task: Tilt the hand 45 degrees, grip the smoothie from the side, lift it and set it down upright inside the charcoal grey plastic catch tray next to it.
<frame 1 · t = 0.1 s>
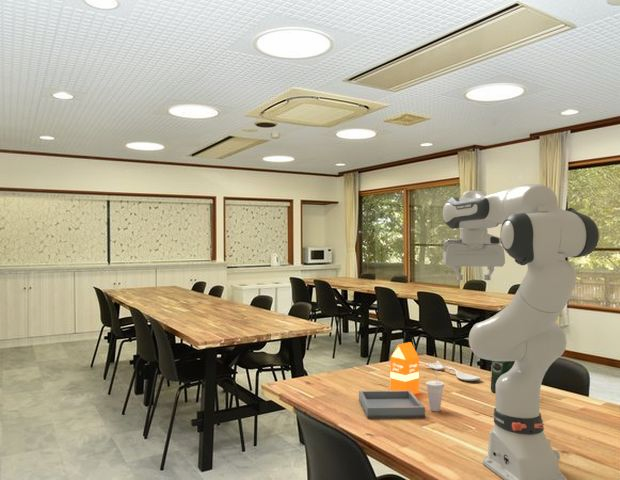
hand: (473, 280, 164), 48 cm above the table, tool pointing down, fingers open, 8 cm apart
orange juice: (404, 393, 198), on the table
catch tray: (390, 408, 178), on the table
smoothie: (434, 410, 177), on the table
coffee jar: (503, 393, 198), on the table
spoon: (452, 375, 226), on the table
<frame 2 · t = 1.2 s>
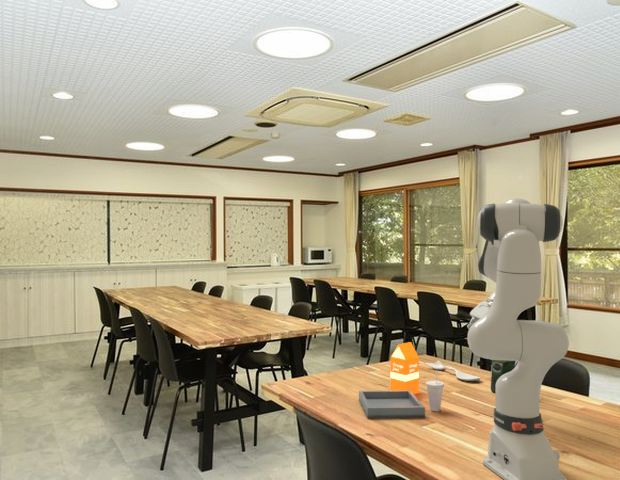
hand: (474, 331, 176), 29 cm above the table, tool tilted 45°, fingers open, 8 cm apart
nothing on the table moved.
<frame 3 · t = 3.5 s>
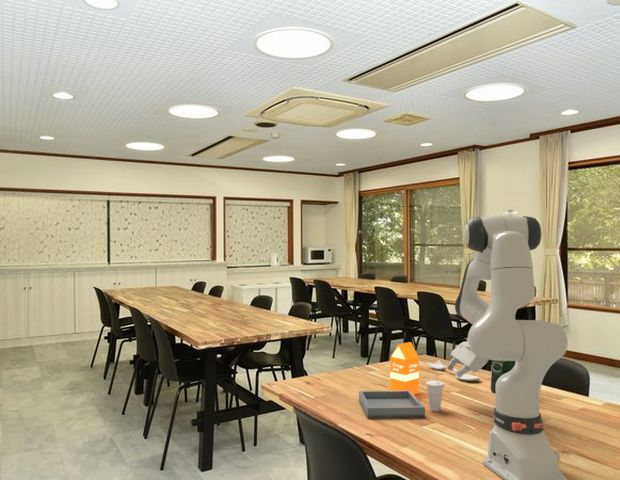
hand: (452, 372, 178), 13 cm above the table, tool tilted 45°, fingers open, 8 cm apart
nothing on the table moved.
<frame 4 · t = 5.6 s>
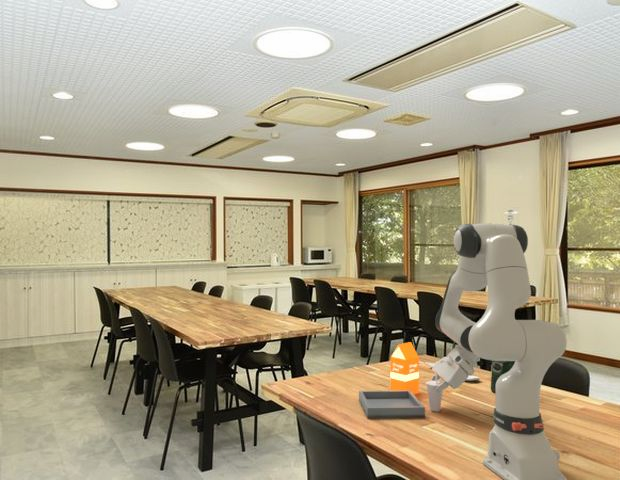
hand: (433, 388, 177), 8 cm above the table, tool tilted 45°, fingers closed on smoothie, 6 cm apart
smoothie: (434, 410, 177), on the table, touching gripper
everything else where it was.
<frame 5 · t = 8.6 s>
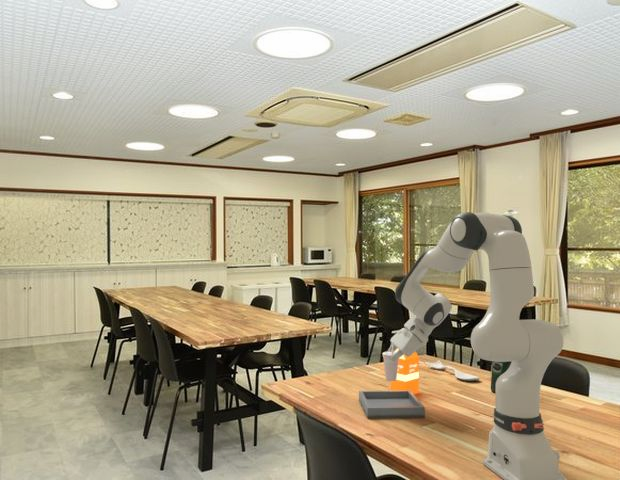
hand: (389, 357, 179), 18 cm above the table, tool tilted 45°, fingers closed on smoothie, 6 cm apart
smoothie: (391, 380, 179), point 10 cm above the table, touching gripper
everything else where it was.
when the fingers open (10 cm above the table, at t = 11.5 s): smoothie stays where it is, resting on catch tray.
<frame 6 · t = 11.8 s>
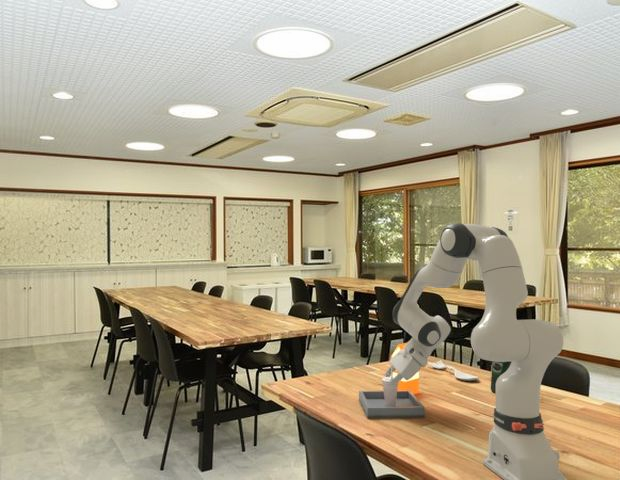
hand: (388, 380, 179), 10 cm above the table, tool tilted 45°, fingers open, 8 cm apart
smoothie: (390, 406, 178), point 1 cm above the table, touching catch tray
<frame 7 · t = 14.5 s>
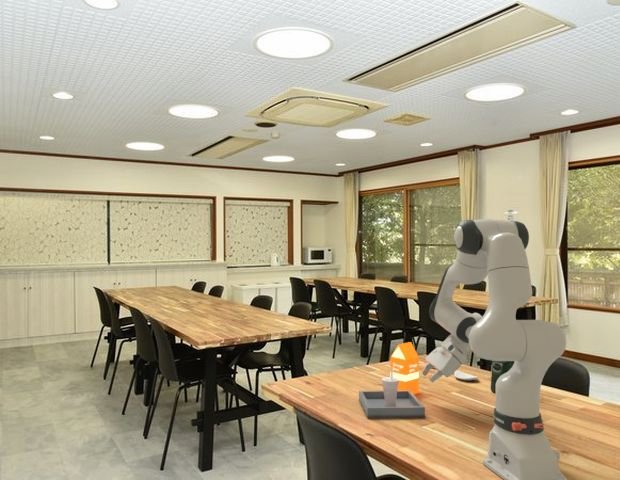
hand: (426, 377, 179), 11 cm above the table, tool tilted 45°, fingers open, 8 cm apart
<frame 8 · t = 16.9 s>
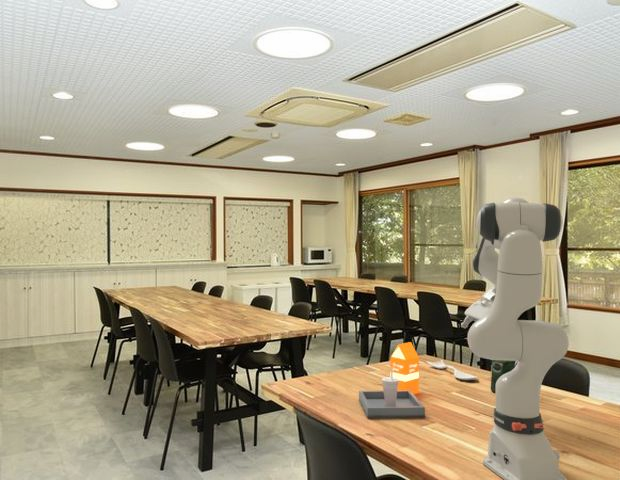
hand: (467, 329, 176), 29 cm above the table, tool tilted 45°, fingers open, 8 cm apart
at the end: smoothie inside the target area on the catch tray (0.1 cm from its centre), point 0.8 cm above the catch tray's base; smoothie tilted 0°; the gripper is holding nothing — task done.
